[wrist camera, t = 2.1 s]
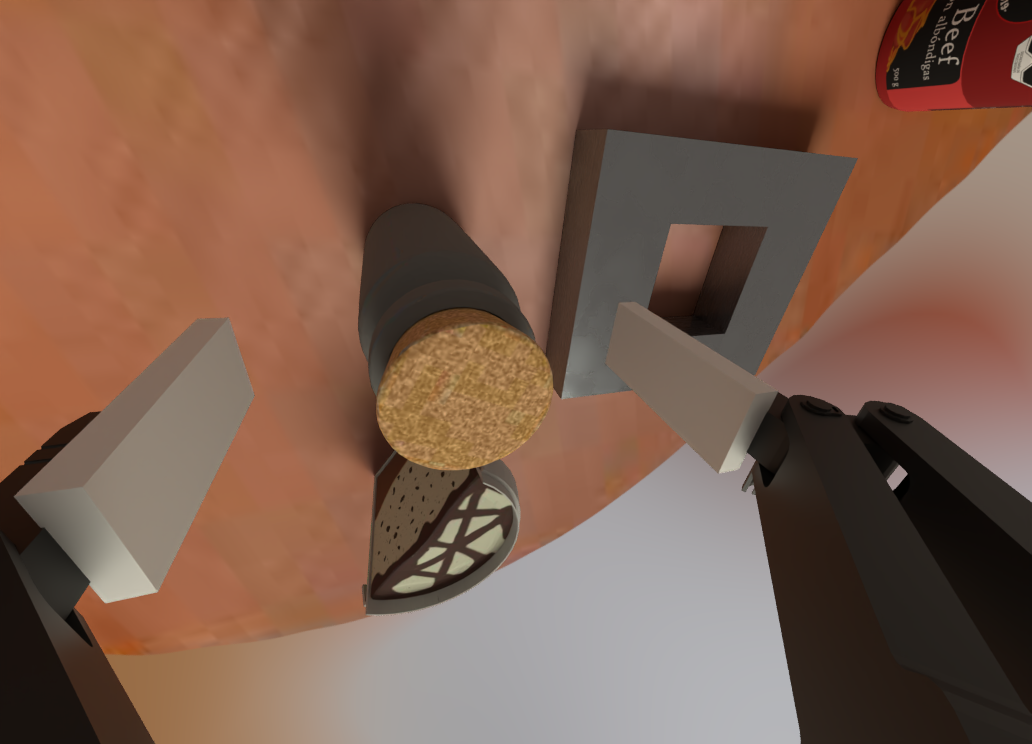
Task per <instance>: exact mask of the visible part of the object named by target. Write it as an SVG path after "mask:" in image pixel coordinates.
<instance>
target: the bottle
mask: <svg viewBox="0 0 1032 744" xmlns="http://www.w3.org/2000/svg"><path fill="white" fill-rule="evenodd" d="M358 331H359V338H360V343H361V347H362V350H363V353H364V355H365V357H366V359H367V361H368V368H369V377H370V382H371V387H372V389H373V391H374V393H375V395H376V416H377V422H378V425H379V428H380V430H381V432H382V434H383V435H384V437H385V439H386V440H387V442H388V443H389V444H390V445H391V447H392V448H393V449H394V450H395V451H397V452H398V453H399V454H400V455H402V456H403V457H405V458H406V459H408V460H410V461H411V462H414V463H417V464H419V465H422V466H425V467H428V468H432V469H438V470H464V469H471V468H476V467H480V466H483V465H486V464H489V463H492V462H494V461H496V460H499V459H501V458H503V457H505V456H507V455H508V454H510V453H512V452H513V451H515V450H516V449H517V448H519V447H520V446H521V445H522V444H523V443H525V442H526V441H527V440H528V439H529V438H530V437H531V436H532V435H533V433H534V432H535V431H536V430H537V429H538V428H539V426H540V424H541V423H542V421H543V419H544V418H545V416H546V414H547V412H548V410H549V407H550V404H551V400H552V394H553V375H552V370H551V368H550V365H549V362H548V359H547V357H546V356H545V354H544V352H543V351H542V349H541V348H540V347H539V346H538V345H537V343H536V341H535V337H534V334H533V331H532V329H531V327H530V325H529V323H528V321H527V319H526V318H525V316H524V315H523V314H522V313H521V311H520V307H519V303H518V299H517V296H516V294H515V292H514V290H513V288H512V287H511V285H510V284H509V282H508V280H507V279H506V277H505V276H504V275H503V274H502V273H501V272H500V270H499V269H498V268H497V267H496V266H495V265H494V264H493V262H492V261H491V260H490V259H489V258H488V257H487V256H486V255H485V254H484V253H483V251H482V250H481V249H480V248H479V247H478V246H477V245H476V244H475V243H474V242H473V241H472V239H471V238H470V237H469V236H468V235H467V234H466V233H465V232H464V231H463V230H462V229H461V228H460V227H459V226H458V225H457V224H456V223H455V222H454V221H453V220H452V219H451V218H450V217H449V216H448V215H446V214H445V213H443V212H442V211H440V210H438V209H436V208H434V207H431V206H428V205H423V204H418V203H415V204H403V205H399V206H396V207H393V208H391V209H389V210H388V211H386V212H385V213H383V214H382V215H381V216H380V217H379V218H378V219H377V220H376V221H375V222H374V224H373V225H372V227H371V229H370V231H369V233H368V235H367V238H366V242H365V248H364V255H363V266H362V276H361V287H360V299H359V316H358Z"/></svg>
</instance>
